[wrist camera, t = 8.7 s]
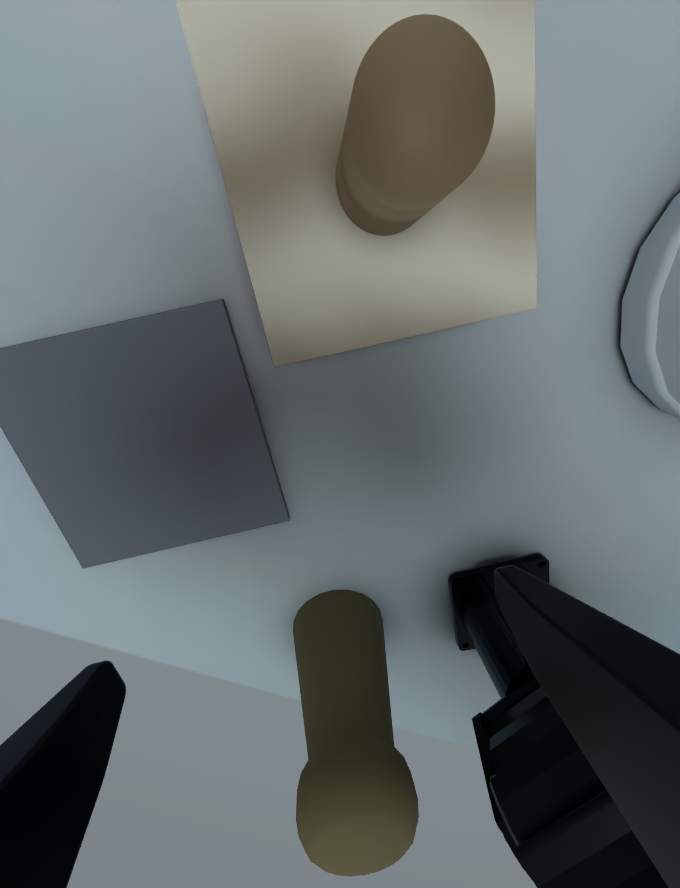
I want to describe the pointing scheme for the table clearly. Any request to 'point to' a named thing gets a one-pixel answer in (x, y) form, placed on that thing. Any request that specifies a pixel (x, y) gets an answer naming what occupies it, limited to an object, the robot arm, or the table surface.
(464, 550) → the table surface
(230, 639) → the table surface
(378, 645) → the olive pestle
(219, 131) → the lid
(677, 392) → the bottle
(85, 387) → the mat
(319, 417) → the table surface
